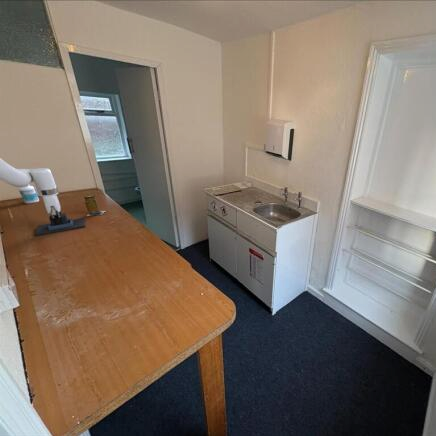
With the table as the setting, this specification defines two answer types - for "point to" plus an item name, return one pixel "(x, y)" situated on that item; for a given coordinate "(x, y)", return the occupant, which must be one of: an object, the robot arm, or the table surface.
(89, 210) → the condiment
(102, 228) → the table surface
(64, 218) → the dark grey block
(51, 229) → the base pad
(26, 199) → the pill bottle
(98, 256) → the table surface
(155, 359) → the table surface
